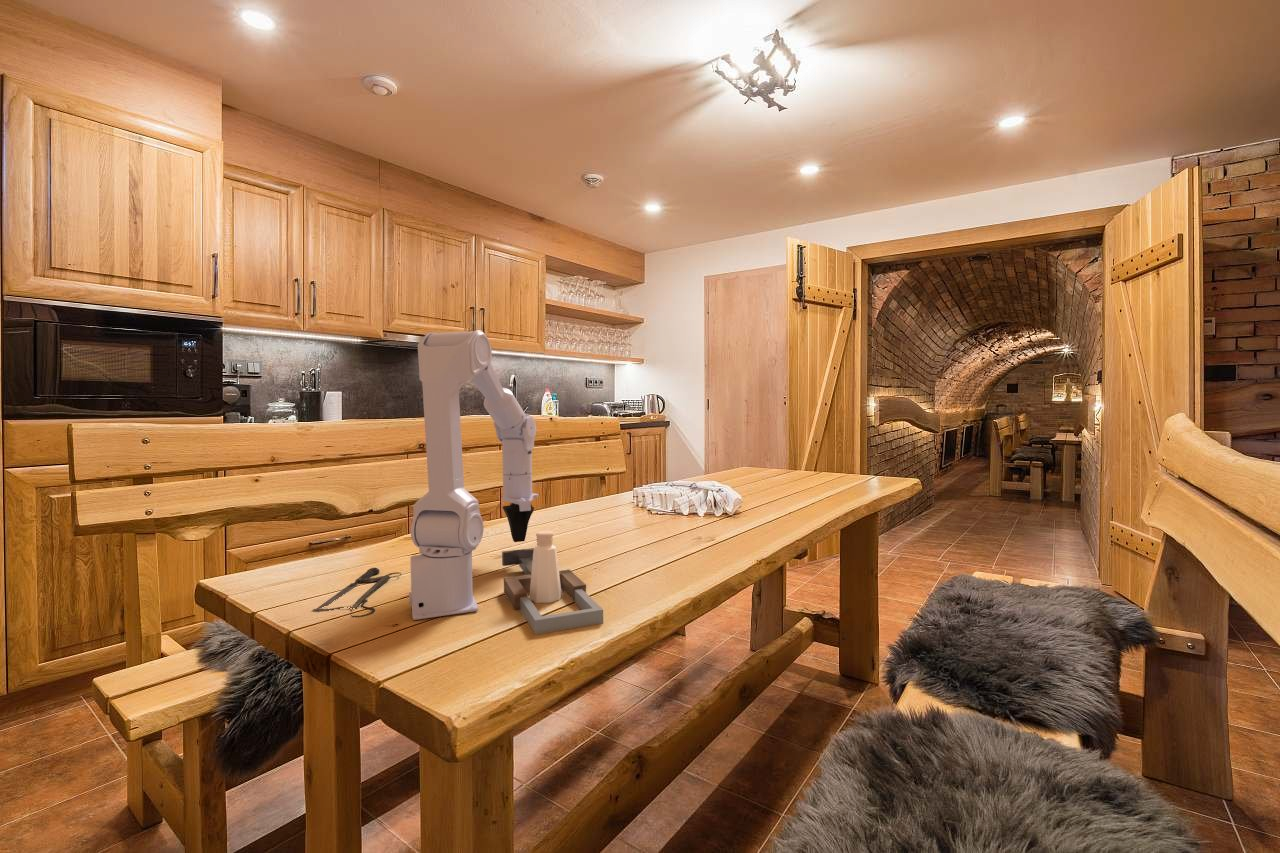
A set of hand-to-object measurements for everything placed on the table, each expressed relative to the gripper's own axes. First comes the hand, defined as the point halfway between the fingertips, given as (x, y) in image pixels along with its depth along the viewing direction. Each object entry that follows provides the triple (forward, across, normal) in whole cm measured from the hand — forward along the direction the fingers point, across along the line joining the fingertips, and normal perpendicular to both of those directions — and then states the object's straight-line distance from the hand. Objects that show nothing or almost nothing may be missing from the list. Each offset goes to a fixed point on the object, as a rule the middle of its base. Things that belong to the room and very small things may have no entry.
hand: (518, 541), depth 115 cm
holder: (+5, -22, 0) cm, 23 cm away
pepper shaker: (+5, -22, 0) cm, 23 cm away
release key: (+3, -11, 0) cm, 12 cm away
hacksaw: (+5, -6, +27) cm, 28 cm away
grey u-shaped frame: (+5, -31, 0) cm, 31 cm away
